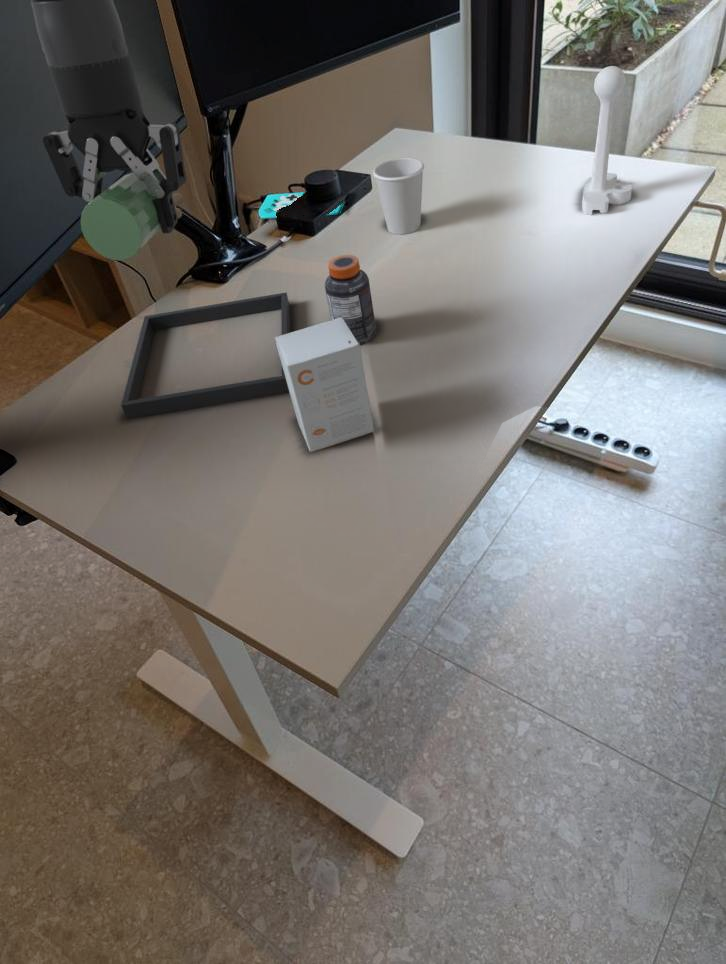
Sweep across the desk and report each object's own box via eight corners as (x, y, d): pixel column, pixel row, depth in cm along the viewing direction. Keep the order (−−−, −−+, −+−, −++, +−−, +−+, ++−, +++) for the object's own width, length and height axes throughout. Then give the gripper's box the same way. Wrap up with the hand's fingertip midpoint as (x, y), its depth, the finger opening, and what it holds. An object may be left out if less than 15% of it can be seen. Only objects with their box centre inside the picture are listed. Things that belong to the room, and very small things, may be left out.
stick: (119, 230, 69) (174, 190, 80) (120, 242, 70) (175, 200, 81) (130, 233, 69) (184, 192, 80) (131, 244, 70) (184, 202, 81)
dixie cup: (395, 243, 114) (389, 182, 107) (371, 226, 119) (363, 168, 112) (437, 226, 116) (434, 166, 109) (411, 211, 121) (406, 153, 114)
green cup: (75, 195, 67) (111, 169, 74) (86, 256, 71) (119, 226, 78) (137, 203, 67) (167, 176, 74) (144, 264, 71) (172, 233, 78)
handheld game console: (269, 199, 133) (267, 192, 132) (348, 194, 130) (347, 187, 129) (255, 223, 127) (253, 216, 126) (339, 218, 123) (337, 211, 122)
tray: (292, 396, 88) (287, 378, 86) (129, 423, 88) (120, 405, 86) (290, 309, 103) (286, 292, 101) (151, 333, 104) (144, 316, 102)
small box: (359, 405, 85) (343, 315, 75) (375, 436, 80) (360, 343, 71) (297, 425, 84) (273, 335, 74) (310, 457, 79) (286, 366, 70)
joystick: (588, 185, 119) (601, 55, 105) (634, 186, 116) (653, 53, 102) (577, 214, 112) (589, 79, 98) (625, 216, 110) (645, 77, 95)
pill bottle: (357, 318, 99) (345, 245, 91) (385, 332, 95) (375, 257, 87) (326, 337, 96) (311, 264, 88) (354, 352, 93) (341, 277, 85)
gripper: (173, 43, 66) (211, 218, 77) (37, 55, 68) (92, 223, 79) (145, 55, 60) (190, 242, 71) (-3, 68, 63) (63, 247, 73)
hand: (138, 231), depth 75 cm, fingers closed on green cup, 6 cm apart
